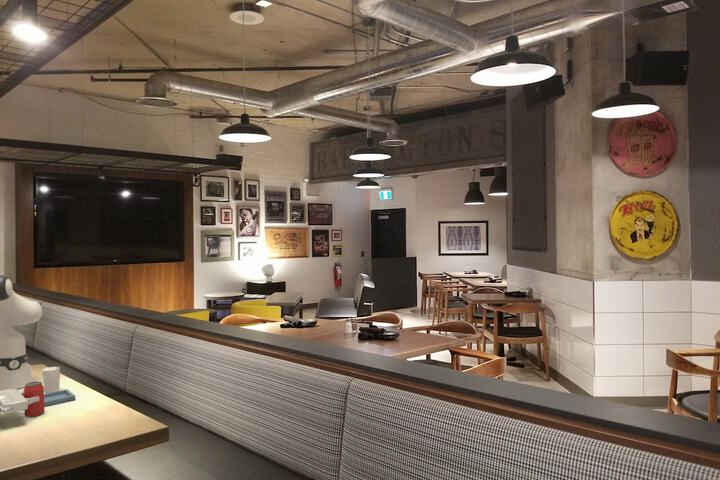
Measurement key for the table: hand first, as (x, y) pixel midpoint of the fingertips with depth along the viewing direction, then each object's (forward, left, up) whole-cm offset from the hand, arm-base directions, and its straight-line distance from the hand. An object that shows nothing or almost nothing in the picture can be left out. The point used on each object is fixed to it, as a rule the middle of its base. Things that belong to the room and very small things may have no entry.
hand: (36, 395), depth 200 cm
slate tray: (-13, +9, -7) cm, 17 cm away
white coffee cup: (-28, +11, -7) cm, 31 cm away
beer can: (0, -1, -7) cm, 7 cm away
